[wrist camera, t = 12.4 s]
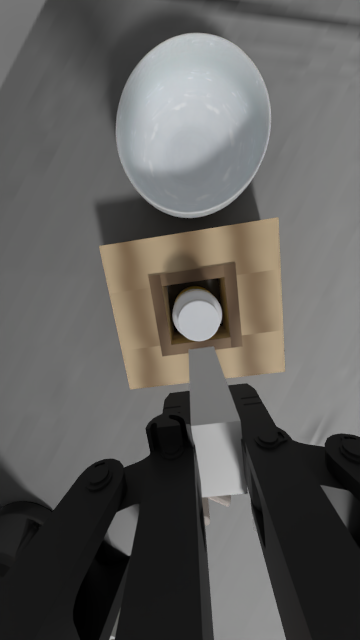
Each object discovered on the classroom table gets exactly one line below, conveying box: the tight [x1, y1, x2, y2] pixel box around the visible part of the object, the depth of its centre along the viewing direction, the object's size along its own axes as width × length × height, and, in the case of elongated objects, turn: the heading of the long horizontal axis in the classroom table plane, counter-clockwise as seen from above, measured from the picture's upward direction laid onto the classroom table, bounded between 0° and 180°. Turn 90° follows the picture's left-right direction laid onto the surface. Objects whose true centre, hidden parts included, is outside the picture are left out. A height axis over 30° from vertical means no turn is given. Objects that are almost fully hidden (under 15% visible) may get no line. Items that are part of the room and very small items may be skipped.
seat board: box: [99, 218, 285, 389], centre depth 32 cm, size 22×20×6 cm
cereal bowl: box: [116, 33, 271, 218], centre depth 27 cm, size 17×17×7 cm
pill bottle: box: [172, 286, 222, 341], centre depth 30 cm, size 6×6×11 cm
